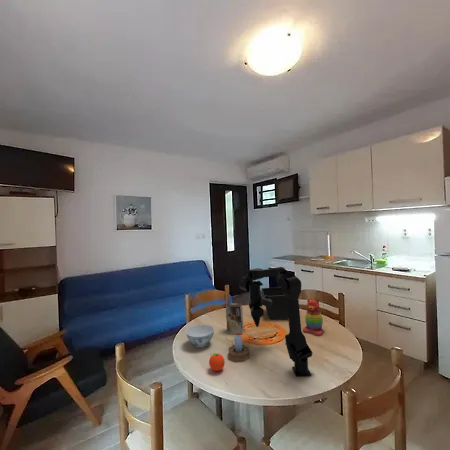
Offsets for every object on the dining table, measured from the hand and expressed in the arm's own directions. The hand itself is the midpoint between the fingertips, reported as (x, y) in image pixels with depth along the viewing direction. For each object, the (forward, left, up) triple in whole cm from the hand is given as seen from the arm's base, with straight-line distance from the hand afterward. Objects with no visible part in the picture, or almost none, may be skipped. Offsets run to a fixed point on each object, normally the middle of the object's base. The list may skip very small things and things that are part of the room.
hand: (256, 322), depth 134 cm
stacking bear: (+14, -34, -12) cm, 39 cm away
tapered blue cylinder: (-9, +10, -12) cm, 18 cm away
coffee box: (+18, +11, -12) cm, 24 cm away
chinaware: (+4, +30, -12) cm, 33 cm away
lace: (+3, +14, -12) cm, 18 cm away
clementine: (-19, +21, -12) cm, 31 cm away
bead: (-9, +10, -12) cm, 18 cm away
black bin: (+39, -18, -12) cm, 45 cm away
